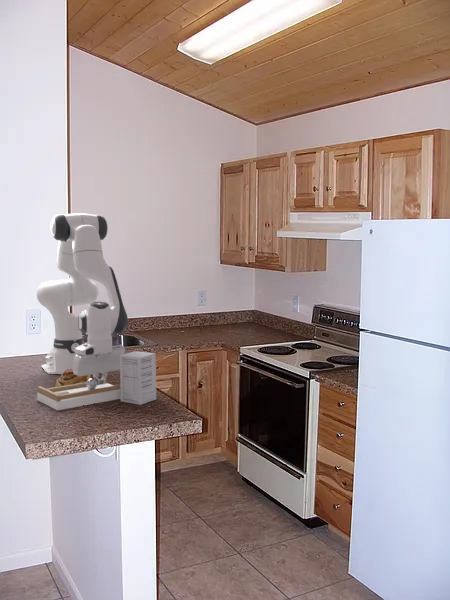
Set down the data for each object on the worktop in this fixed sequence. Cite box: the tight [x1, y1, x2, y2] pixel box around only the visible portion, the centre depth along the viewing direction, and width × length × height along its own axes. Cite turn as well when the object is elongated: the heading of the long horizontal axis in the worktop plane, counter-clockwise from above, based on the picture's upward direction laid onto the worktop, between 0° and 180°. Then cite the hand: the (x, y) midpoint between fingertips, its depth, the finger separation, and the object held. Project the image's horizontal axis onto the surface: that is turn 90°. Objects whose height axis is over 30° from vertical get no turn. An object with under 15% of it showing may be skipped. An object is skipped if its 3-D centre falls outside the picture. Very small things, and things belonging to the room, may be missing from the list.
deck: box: [36, 378, 121, 411], centre depth 226 cm, size 16×26×5 cm, turn 130°
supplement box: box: [119, 350, 157, 406], centre depth 224 cm, size 10×9×17 cm
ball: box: [86, 377, 97, 389], centre depth 228 cm, size 4×4×4 cm
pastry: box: [54, 369, 93, 387], centre depth 242 cm, size 13×15×8 cm
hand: (100, 384), depth 230 cm, fingers closed
